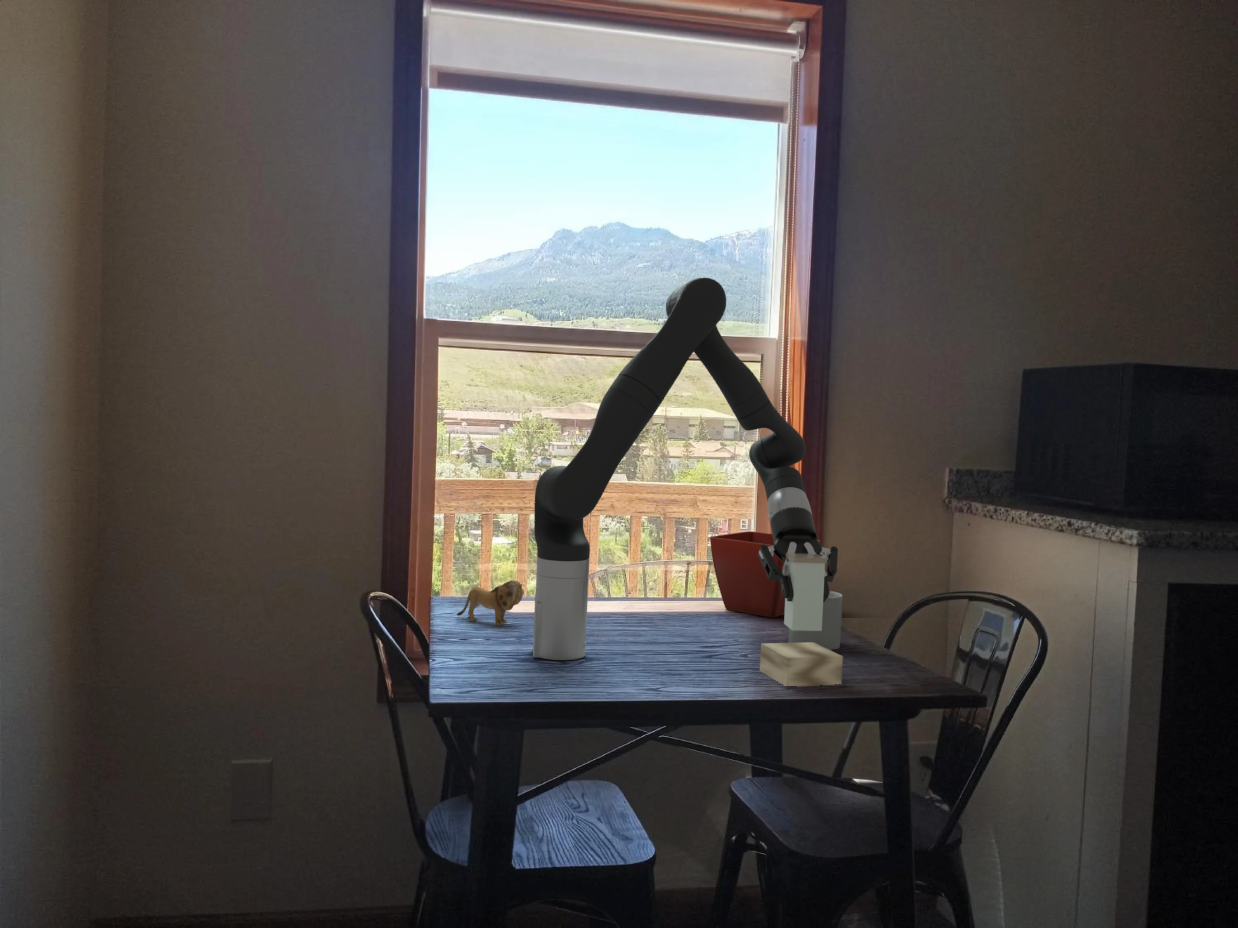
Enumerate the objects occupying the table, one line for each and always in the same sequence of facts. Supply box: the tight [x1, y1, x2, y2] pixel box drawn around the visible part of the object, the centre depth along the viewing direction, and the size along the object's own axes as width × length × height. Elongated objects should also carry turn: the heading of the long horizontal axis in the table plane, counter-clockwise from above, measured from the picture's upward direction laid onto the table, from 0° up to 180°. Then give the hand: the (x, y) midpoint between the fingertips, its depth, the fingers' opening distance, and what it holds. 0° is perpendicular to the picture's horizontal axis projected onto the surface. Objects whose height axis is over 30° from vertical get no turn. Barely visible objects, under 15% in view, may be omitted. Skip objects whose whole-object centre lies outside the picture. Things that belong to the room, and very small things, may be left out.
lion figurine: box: [456, 579, 525, 627], centre depth 192 cm, size 15×5×9 cm, turn 71°
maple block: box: [759, 642, 844, 687], centre depth 159 cm, size 10×10×5 cm
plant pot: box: [709, 530, 821, 618], centre depth 217 cm, size 19×19×17 cm
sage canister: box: [783, 553, 827, 631], centre depth 158 cm, size 5×5×12 cm
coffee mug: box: [787, 590, 844, 651], centre depth 186 cm, size 13×10×10 cm
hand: (807, 598), depth 156 cm, fingers closed on sage canister, 5 cm apart
